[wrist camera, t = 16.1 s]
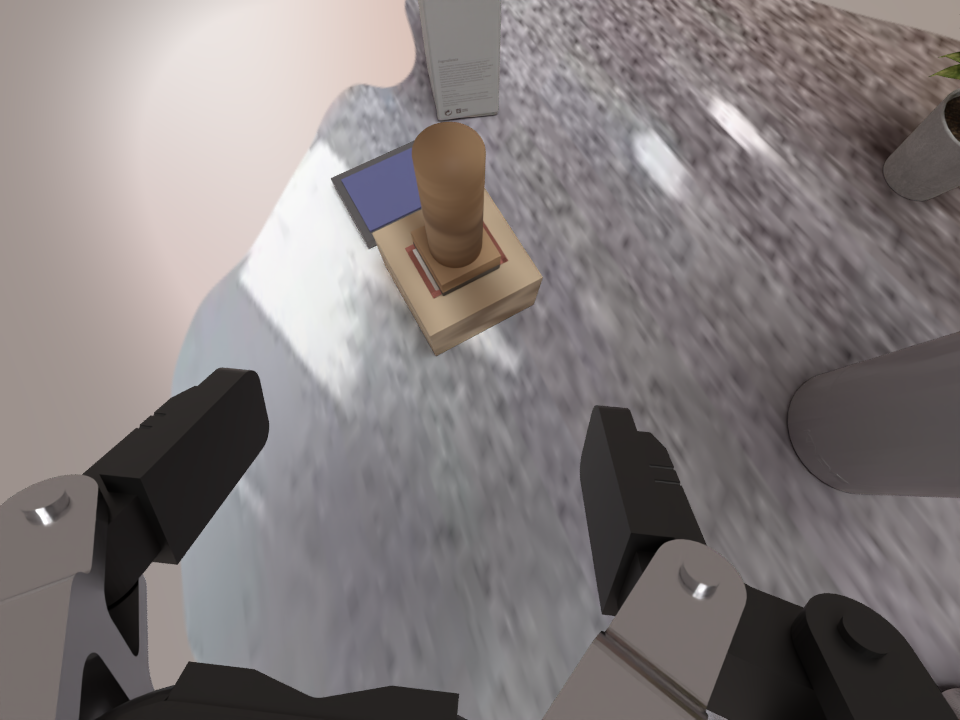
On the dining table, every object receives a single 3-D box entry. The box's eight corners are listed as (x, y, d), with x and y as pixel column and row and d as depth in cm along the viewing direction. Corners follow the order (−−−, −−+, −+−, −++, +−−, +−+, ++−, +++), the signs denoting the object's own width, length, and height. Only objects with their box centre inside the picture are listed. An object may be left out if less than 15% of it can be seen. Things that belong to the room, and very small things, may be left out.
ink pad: (435, 139, 41) (434, 129, 40) (473, 198, 39) (473, 190, 38) (334, 185, 39) (330, 176, 38) (369, 248, 38) (365, 241, 37)
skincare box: (499, 116, 42) (512, -78, 27) (434, 124, 41) (413, -68, 27) (484, 45, 44) (489, -168, 29) (422, 52, 43) (397, -160, 29)
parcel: (479, 219, 39) (480, 180, 34) (533, 304, 37) (542, 276, 32) (385, 265, 37) (371, 232, 32) (435, 356, 35) (429, 335, 30)
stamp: (468, 218, 33) (467, 101, 23) (499, 268, 32) (511, 168, 22) (413, 245, 32) (386, 136, 22) (443, 296, 31) (429, 207, 21)
